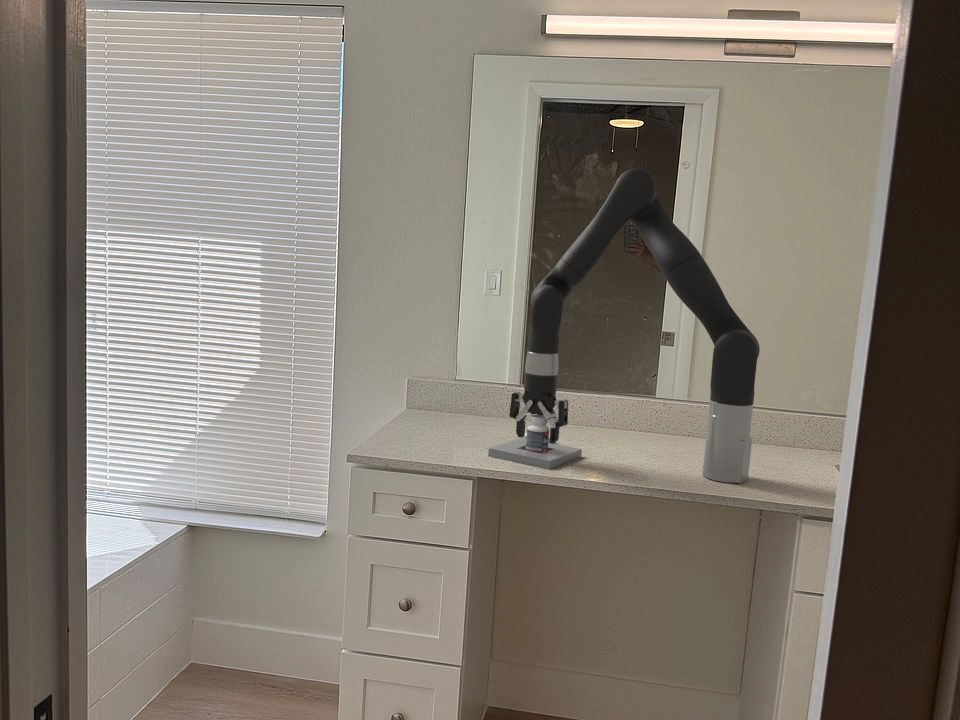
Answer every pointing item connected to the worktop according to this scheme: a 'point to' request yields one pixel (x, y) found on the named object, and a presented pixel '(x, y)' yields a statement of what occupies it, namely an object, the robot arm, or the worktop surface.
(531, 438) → the pill bottle
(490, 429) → the worktop surface
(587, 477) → the worktop surface
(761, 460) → the worktop surface
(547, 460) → the grey square slab
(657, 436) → the worktop surface
